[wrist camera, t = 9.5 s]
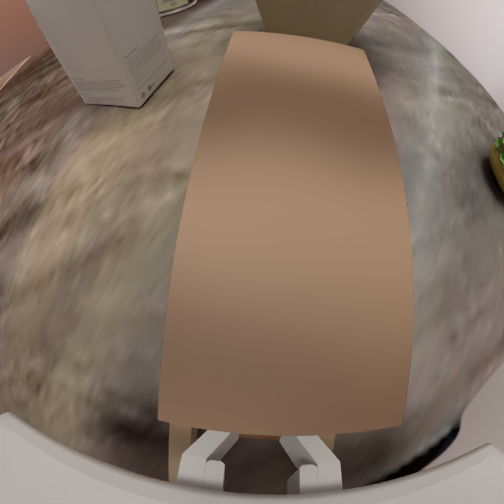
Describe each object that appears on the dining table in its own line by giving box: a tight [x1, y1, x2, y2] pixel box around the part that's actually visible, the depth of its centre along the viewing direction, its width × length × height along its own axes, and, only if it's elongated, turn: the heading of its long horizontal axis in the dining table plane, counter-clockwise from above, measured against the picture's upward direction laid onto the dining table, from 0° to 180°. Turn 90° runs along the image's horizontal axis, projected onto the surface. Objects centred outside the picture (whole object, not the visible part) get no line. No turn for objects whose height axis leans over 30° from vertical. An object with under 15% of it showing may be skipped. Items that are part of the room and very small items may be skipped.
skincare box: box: [25, 0, 173, 108], centre depth 14 cm, size 8×7×16 cm
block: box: [158, 31, 414, 436], centre depth 11 cm, size 12×5×11 cm, turn 175°
